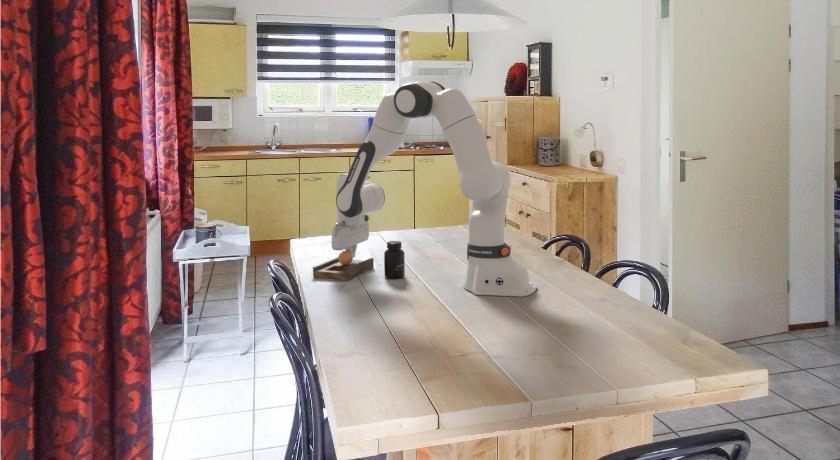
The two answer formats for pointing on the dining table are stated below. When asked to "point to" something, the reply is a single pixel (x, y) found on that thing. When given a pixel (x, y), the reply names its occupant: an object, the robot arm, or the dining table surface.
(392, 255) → the supplement bottle
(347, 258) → the ball
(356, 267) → the lane
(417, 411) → the dining table surface
